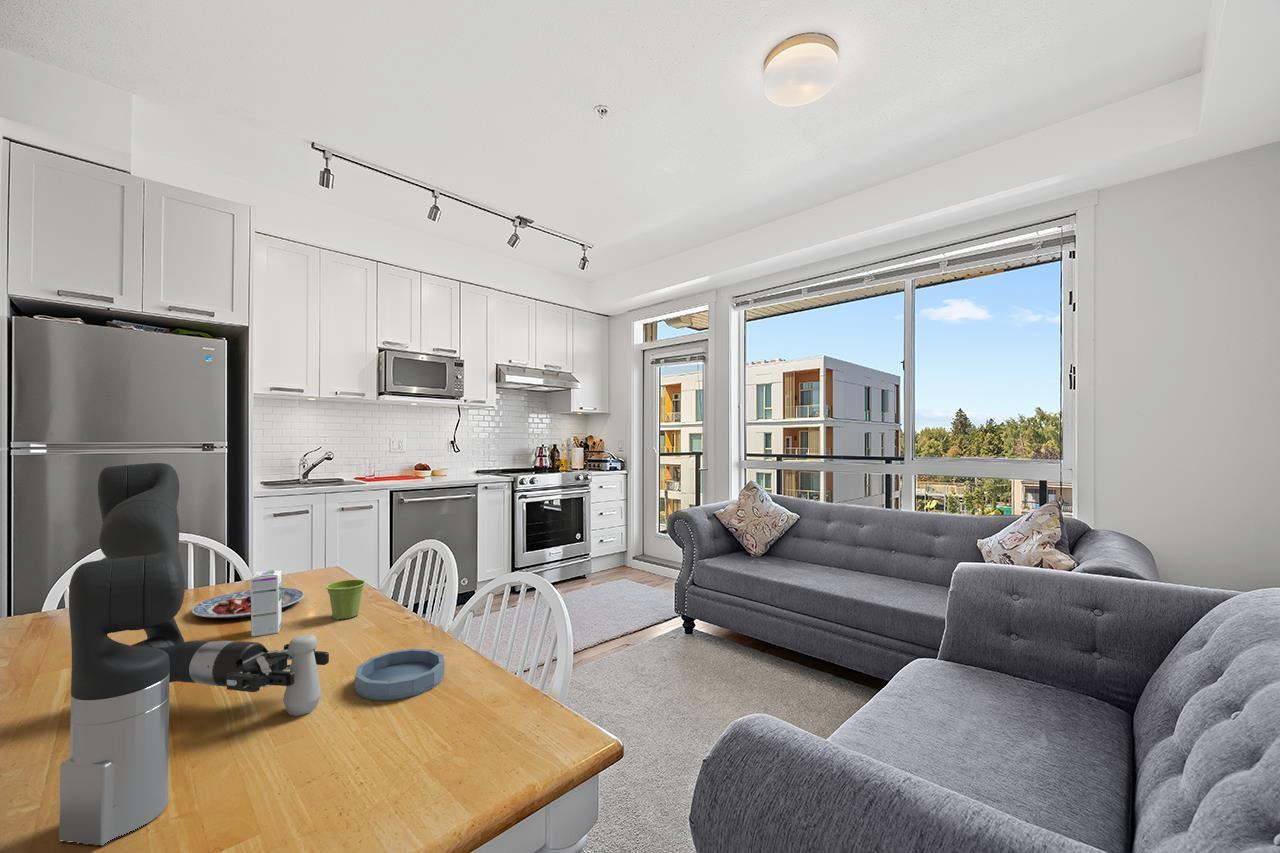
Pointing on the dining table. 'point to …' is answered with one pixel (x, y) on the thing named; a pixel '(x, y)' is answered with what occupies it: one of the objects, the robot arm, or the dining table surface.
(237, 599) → the ceramic plate
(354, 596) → the plant pot
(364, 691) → the bowl
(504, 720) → the dining table surface
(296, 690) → the salt shaker
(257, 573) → the syrup box
